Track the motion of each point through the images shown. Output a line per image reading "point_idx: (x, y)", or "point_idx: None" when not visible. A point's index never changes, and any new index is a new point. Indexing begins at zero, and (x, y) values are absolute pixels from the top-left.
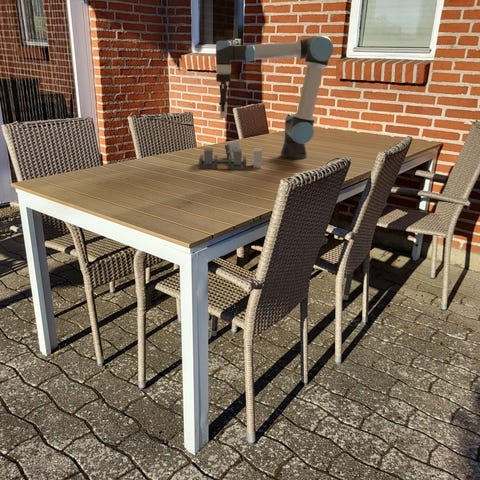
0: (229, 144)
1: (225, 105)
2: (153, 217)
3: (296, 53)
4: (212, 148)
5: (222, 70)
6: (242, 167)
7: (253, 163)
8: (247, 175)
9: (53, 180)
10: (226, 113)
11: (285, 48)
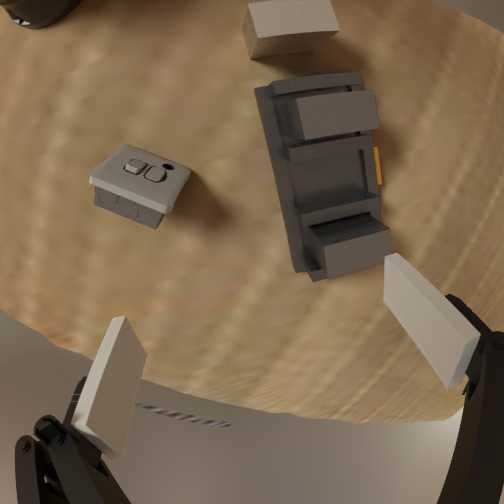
0: (167, 201)
1: (477, 330)
2: None
3: None
4: (335, 244)
5: None
6: (361, 89)
7: (272, 53)
8: (421, 72)
9: (444, 406)
10: (124, 326)
11: None
